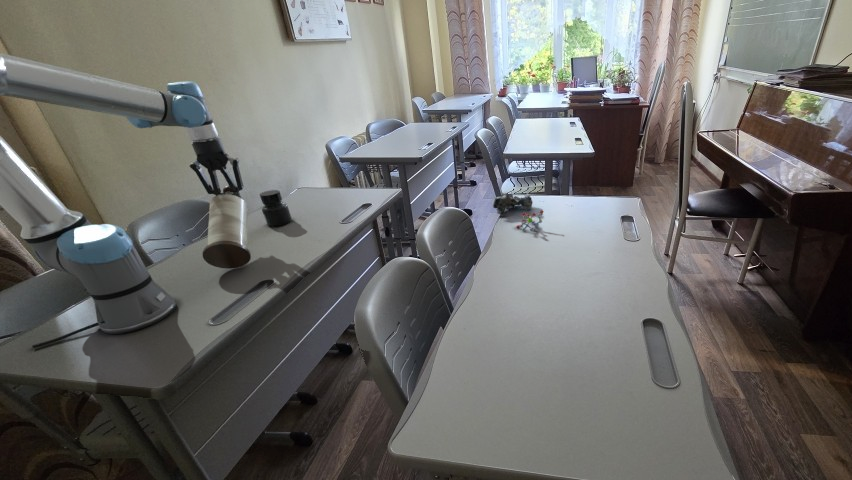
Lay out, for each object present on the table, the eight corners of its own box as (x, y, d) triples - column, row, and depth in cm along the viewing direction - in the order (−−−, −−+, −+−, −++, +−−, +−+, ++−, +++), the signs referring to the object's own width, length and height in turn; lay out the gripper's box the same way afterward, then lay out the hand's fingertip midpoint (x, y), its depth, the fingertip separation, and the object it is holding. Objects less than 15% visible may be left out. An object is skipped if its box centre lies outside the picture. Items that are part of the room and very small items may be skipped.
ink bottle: (278, 217, 161) (268, 188, 154) (297, 218, 159) (288, 189, 153) (261, 227, 152) (250, 196, 146) (281, 227, 151) (270, 197, 145)
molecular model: (545, 230, 137) (545, 209, 134) (525, 235, 134) (525, 214, 130) (534, 223, 143) (534, 203, 139) (515, 228, 140) (514, 208, 136)
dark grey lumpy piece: (538, 206, 148) (503, 187, 143) (523, 229, 153) (489, 212, 148) (534, 195, 158) (501, 176, 153) (519, 217, 163) (487, 200, 158)
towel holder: (214, 271, 121) (194, 248, 112) (218, 202, 136) (200, 176, 126) (257, 264, 125) (240, 240, 115) (256, 197, 139) (241, 171, 129)
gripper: (236, 133, 125) (262, 204, 138) (179, 139, 121) (211, 211, 134) (231, 139, 119) (259, 212, 132) (170, 144, 115) (205, 219, 128)
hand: (235, 211), depth 133 cm, fingers closed on towel holder, 2 cm apart
